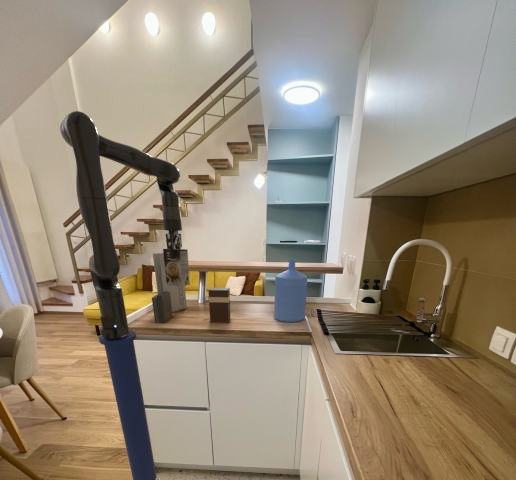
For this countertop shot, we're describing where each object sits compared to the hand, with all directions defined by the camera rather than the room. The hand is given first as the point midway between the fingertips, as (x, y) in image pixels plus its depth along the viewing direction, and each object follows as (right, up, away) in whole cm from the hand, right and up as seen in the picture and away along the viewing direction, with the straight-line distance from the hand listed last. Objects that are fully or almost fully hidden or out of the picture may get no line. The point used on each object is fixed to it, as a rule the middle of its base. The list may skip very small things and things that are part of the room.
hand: (175, 258), depth 126 cm
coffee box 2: (+19, -27, +10) cm, 35 cm away
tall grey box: (-9, -20, +28) cm, 36 cm away
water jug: (+53, -26, +16) cm, 61 cm away
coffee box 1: (0, -11, +5) cm, 12 cm away
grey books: (-9, -27, +11) cm, 30 cm away
